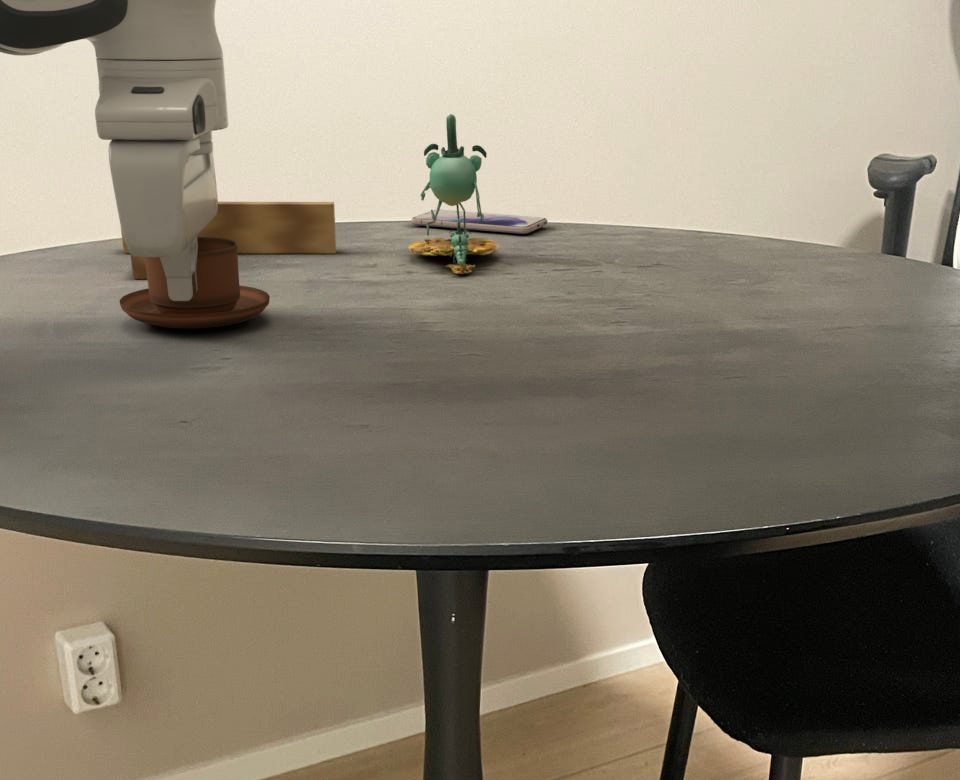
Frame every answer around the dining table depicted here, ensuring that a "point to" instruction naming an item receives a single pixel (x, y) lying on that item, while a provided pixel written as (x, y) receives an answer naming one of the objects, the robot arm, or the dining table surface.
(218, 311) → the cup and saucer
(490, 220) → the smartphone
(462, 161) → the green cartoon figurine
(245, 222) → the corner stop
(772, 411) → the dining table surface
